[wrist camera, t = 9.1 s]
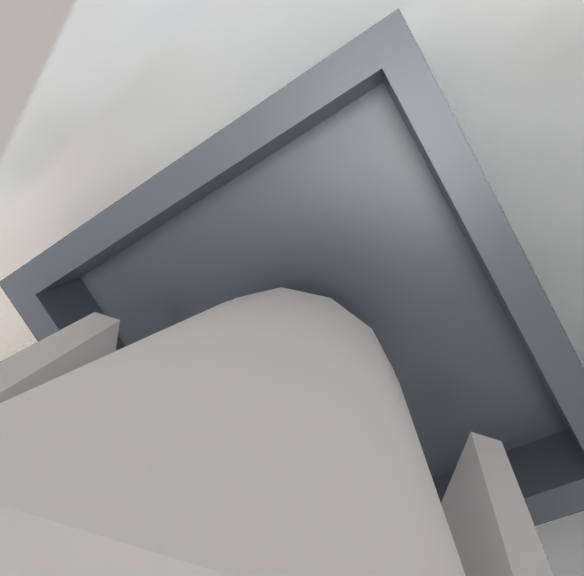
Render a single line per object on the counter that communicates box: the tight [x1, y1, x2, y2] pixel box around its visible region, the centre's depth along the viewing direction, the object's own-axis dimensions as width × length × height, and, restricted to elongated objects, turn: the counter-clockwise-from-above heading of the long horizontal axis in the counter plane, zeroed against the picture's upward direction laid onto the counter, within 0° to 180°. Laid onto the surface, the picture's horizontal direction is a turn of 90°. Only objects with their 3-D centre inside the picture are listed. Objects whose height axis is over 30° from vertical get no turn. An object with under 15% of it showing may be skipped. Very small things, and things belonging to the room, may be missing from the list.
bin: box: [0, 8, 584, 526], centre depth 17 cm, size 15×15×4 cm
